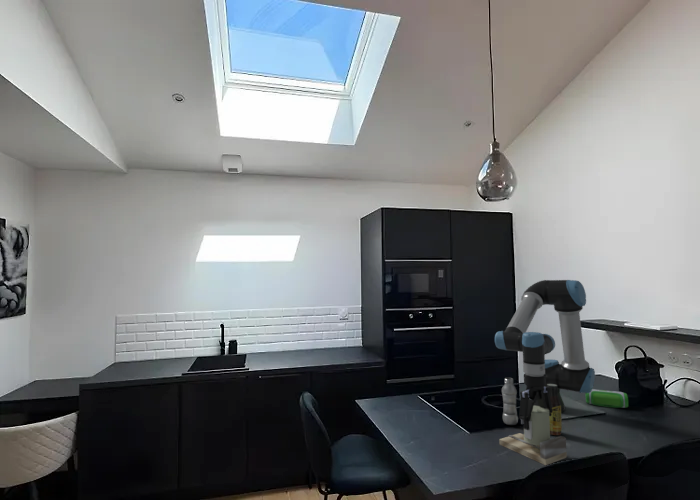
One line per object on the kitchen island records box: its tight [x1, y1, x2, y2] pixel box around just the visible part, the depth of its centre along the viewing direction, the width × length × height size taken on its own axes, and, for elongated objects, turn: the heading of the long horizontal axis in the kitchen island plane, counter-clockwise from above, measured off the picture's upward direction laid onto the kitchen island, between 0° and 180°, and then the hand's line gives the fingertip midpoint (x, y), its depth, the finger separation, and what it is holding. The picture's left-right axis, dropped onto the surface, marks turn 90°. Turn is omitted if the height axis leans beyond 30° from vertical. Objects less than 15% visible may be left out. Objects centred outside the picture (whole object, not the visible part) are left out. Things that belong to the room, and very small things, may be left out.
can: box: [523, 406, 551, 446], centre depth 150 cm, size 9×9×12 cm
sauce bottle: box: [547, 384, 563, 436], centre depth 168 cm, size 7×6×20 cm
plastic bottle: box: [501, 377, 519, 426], centre depth 178 cm, size 6×7×20 cm
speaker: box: [584, 388, 629, 409], centre depth 200 cm, size 18×7×8 cm, turn 63°
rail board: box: [498, 432, 568, 466], centre depth 152 cm, size 20×12×7 cm, turn 29°
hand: (536, 435), depth 150 cm, fingers closed on can, 9 cm apart
